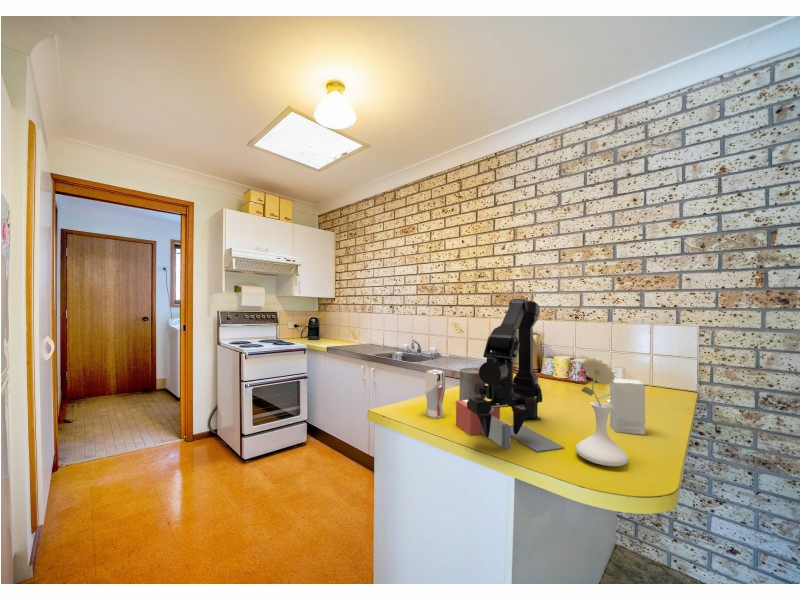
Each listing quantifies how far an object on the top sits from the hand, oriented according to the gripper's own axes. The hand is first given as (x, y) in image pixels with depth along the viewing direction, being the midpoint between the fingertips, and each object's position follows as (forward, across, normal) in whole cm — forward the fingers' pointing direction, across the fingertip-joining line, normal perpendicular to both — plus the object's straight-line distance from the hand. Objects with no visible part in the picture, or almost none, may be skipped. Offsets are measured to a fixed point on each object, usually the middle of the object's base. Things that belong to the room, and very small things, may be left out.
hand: (501, 435), depth 92 cm
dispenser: (+2, 0, -12) cm, 13 cm away
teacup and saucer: (+3, -75, -24) cm, 79 cm away
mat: (+2, -10, -2) cm, 11 cm away
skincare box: (+3, -45, +1) cm, 45 cm away
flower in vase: (+3, -19, +14) cm, 24 cm away
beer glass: (+3, +8, -27) cm, 28 cm away
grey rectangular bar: (+2, 0, -6) cm, 6 cm away
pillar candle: (+3, -10, -33) cm, 34 cm away
